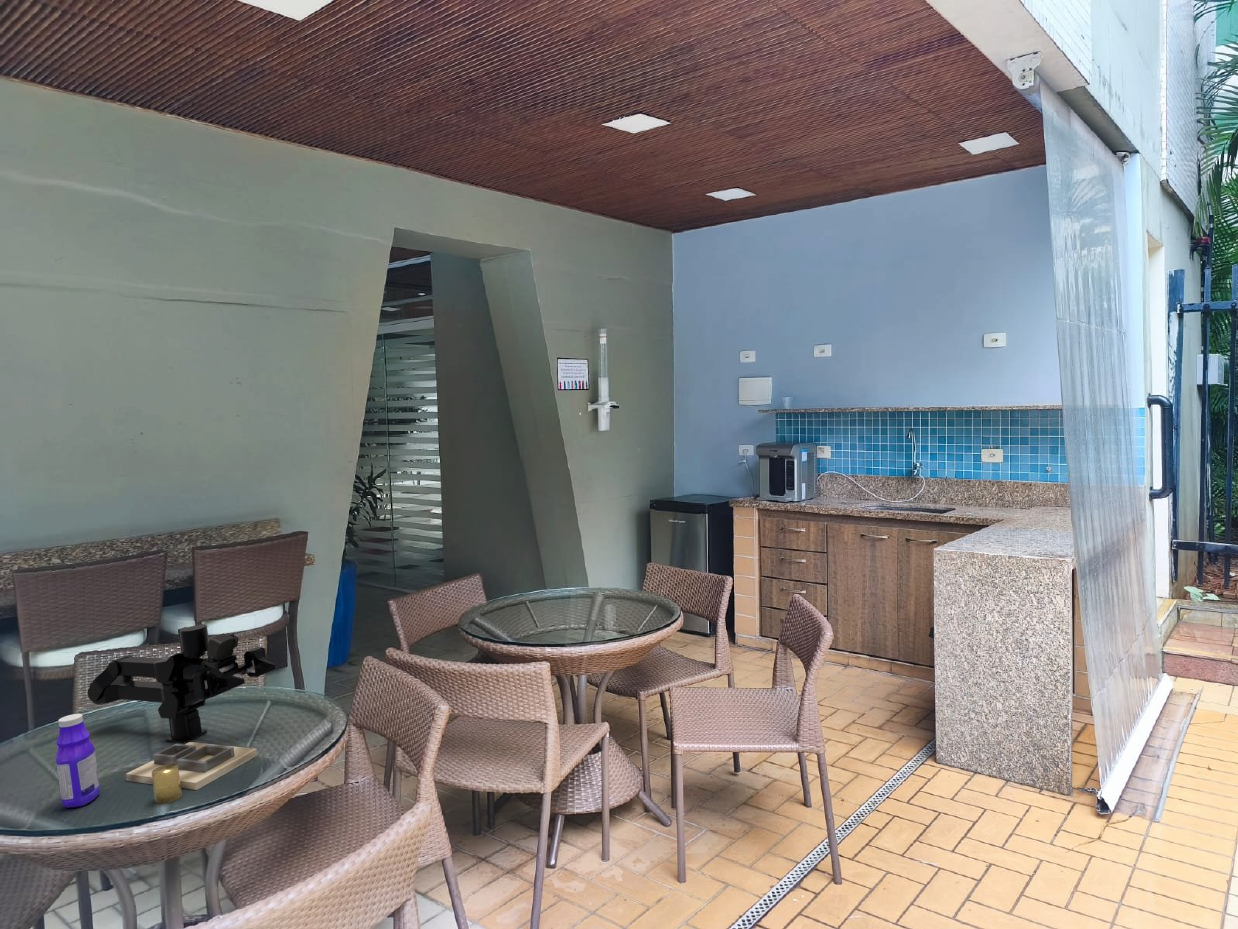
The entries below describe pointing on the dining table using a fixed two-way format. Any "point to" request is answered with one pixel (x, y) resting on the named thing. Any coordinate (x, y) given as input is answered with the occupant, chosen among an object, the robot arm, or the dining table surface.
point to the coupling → (166, 783)
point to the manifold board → (195, 763)
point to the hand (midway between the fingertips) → (260, 674)
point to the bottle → (76, 763)
